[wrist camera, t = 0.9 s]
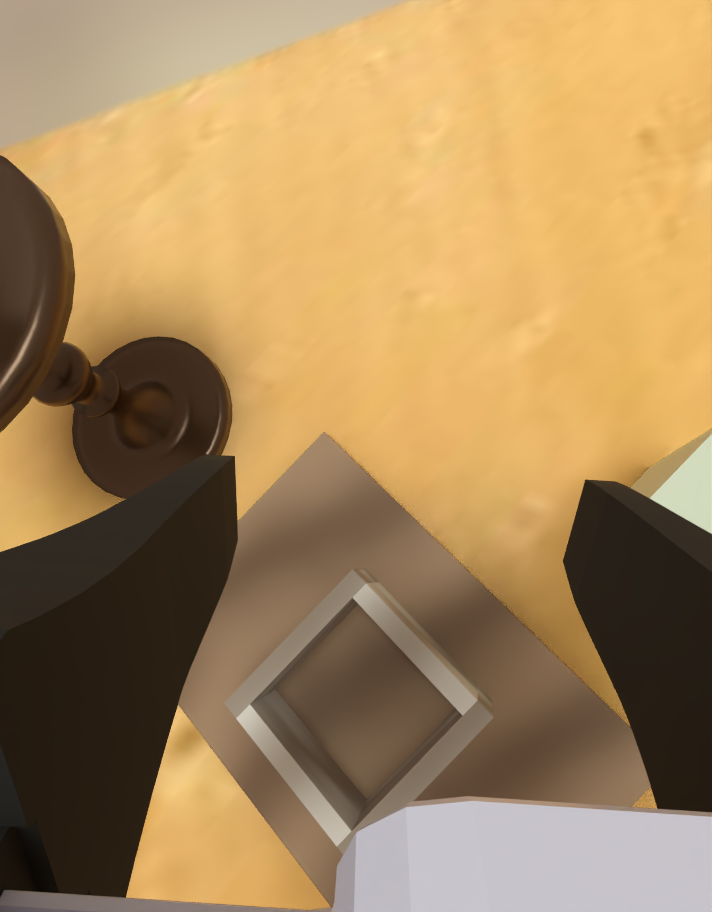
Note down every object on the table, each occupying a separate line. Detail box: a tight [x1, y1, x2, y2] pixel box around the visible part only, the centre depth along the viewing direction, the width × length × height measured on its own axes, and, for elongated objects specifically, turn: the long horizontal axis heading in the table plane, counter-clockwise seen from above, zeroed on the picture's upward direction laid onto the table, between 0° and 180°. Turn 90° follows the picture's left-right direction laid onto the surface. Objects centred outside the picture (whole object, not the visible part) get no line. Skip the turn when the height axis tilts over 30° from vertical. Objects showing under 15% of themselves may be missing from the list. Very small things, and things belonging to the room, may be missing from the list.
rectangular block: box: [630, 429, 712, 534], centre depth 21 cm, size 4×4×8 cm
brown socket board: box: [178, 432, 651, 907], centre depth 24 cm, size 20×14×4 cm
